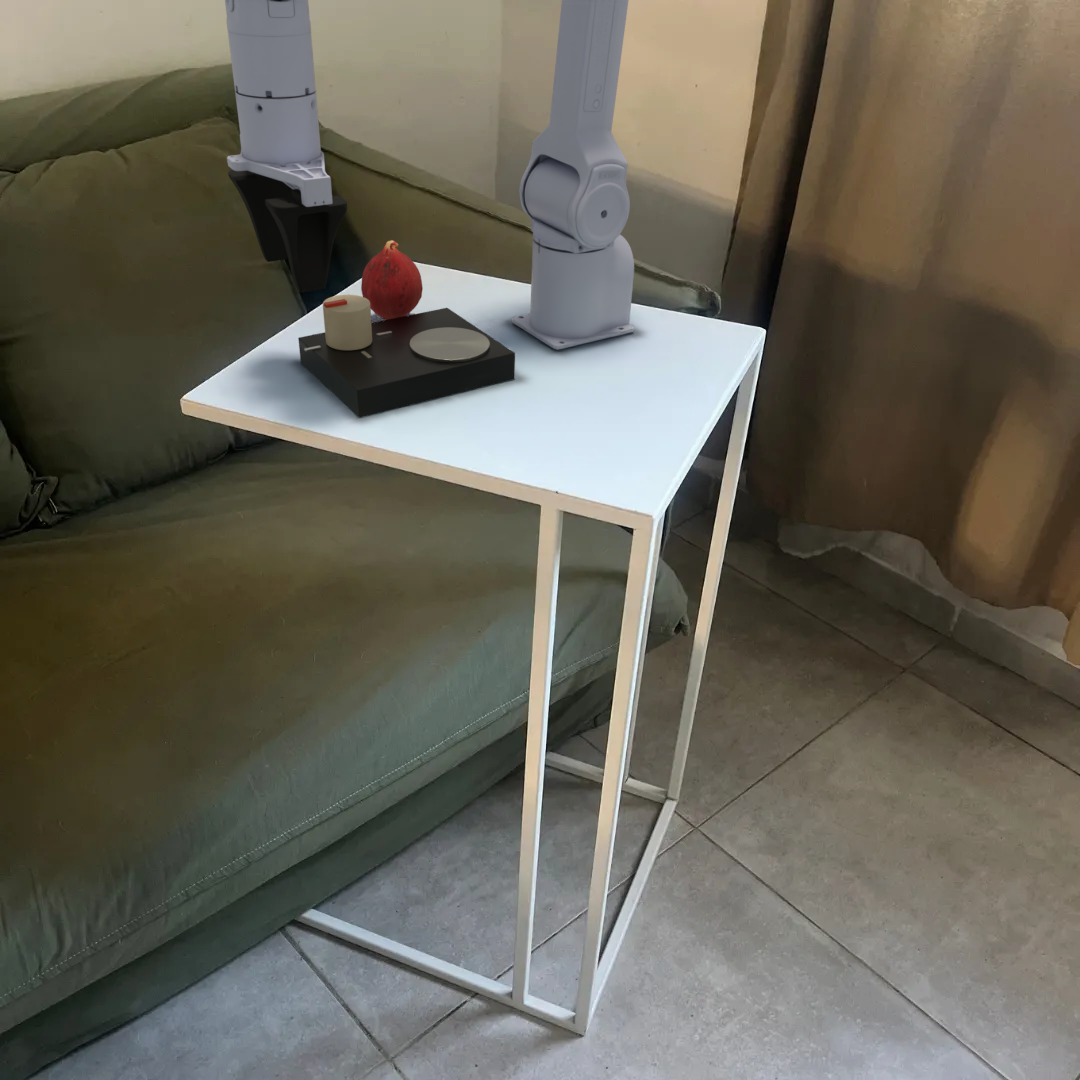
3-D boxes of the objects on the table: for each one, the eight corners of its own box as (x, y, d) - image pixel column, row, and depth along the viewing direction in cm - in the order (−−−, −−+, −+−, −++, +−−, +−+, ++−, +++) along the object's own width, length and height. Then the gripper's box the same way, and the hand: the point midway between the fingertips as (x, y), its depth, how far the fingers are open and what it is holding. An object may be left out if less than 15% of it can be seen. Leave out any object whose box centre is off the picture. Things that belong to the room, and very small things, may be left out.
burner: (464, 325, 93) (464, 321, 92) (505, 352, 88) (505, 349, 88) (395, 339, 89) (395, 336, 89) (434, 369, 85) (434, 365, 84)
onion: (412, 337, 96) (410, 254, 92) (354, 330, 97) (349, 248, 92) (430, 315, 101) (428, 235, 96) (375, 308, 102) (370, 229, 97)
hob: (441, 328, 98) (441, 301, 97) (514, 379, 89) (515, 351, 88) (289, 360, 91) (286, 332, 89) (352, 419, 82) (350, 389, 80)
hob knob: (360, 329, 91) (357, 288, 89) (380, 344, 88) (378, 303, 86) (318, 337, 89) (314, 296, 87) (337, 354, 86) (334, 311, 84)
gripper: (192, 76, 76) (217, 253, 84) (253, 115, 66) (276, 312, 74) (282, 70, 80) (299, 242, 87) (354, 107, 69) (365, 297, 77)
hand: (294, 273), depth 81 cm, fingers open, 7 cm apart
